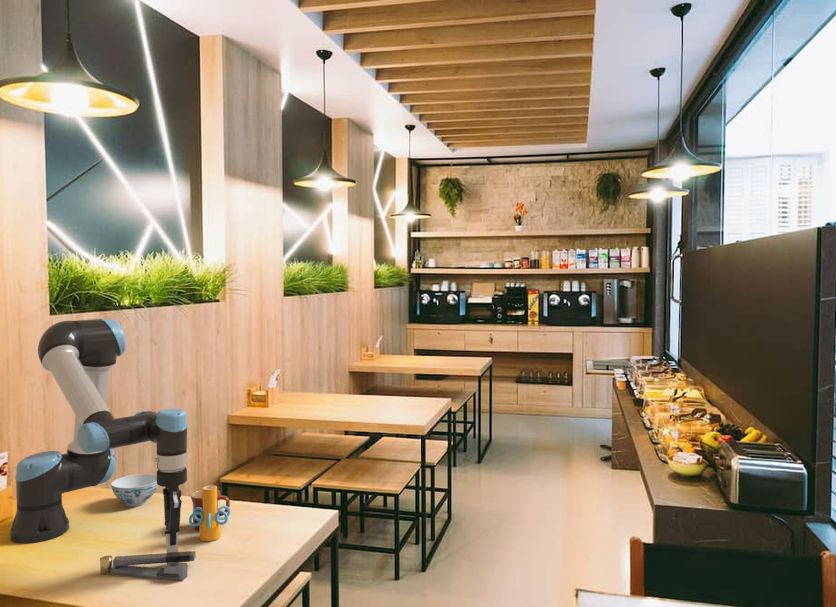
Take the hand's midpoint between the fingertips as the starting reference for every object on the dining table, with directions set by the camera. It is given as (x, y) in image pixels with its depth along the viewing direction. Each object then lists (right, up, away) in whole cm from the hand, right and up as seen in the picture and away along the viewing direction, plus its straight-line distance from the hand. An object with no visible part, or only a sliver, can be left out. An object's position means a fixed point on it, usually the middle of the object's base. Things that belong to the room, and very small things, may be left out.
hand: (172, 555), depth 168 cm
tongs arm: (-3, -1, -3) cm, 5 cm away
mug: (+2, -2, +26) cm, 26 cm away
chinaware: (-30, -1, +46) cm, 55 cm away
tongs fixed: (-5, -2, -7) cm, 9 cm away
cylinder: (+4, -2, +17) cm, 18 cm away
